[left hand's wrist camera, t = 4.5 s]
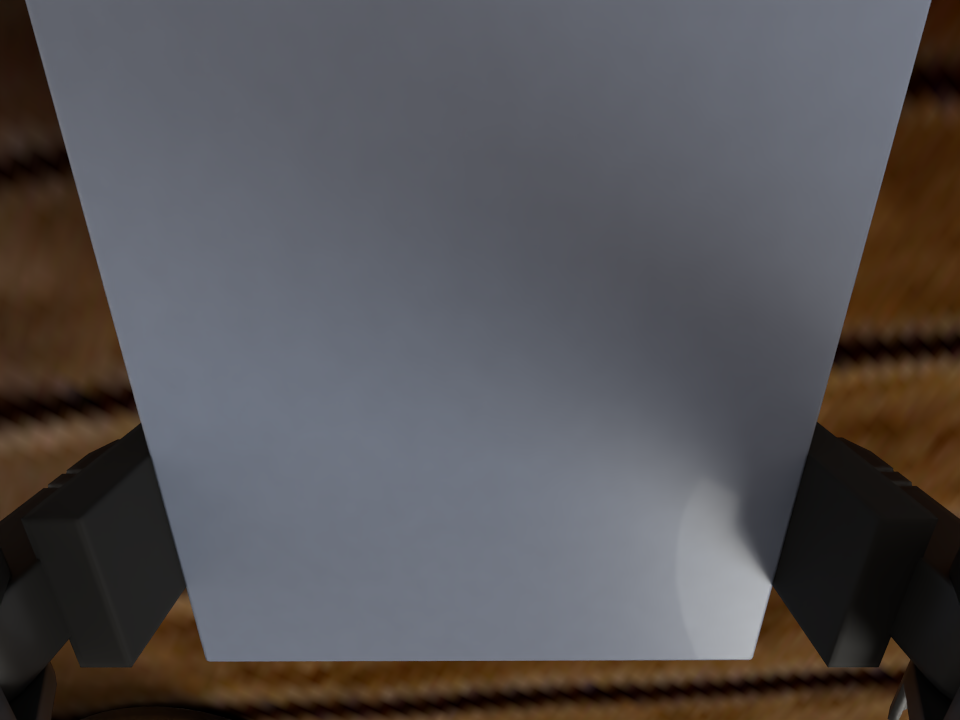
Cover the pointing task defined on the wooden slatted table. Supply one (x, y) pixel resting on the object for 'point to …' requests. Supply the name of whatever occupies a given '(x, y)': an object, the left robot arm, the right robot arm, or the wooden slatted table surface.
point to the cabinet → (478, 302)
